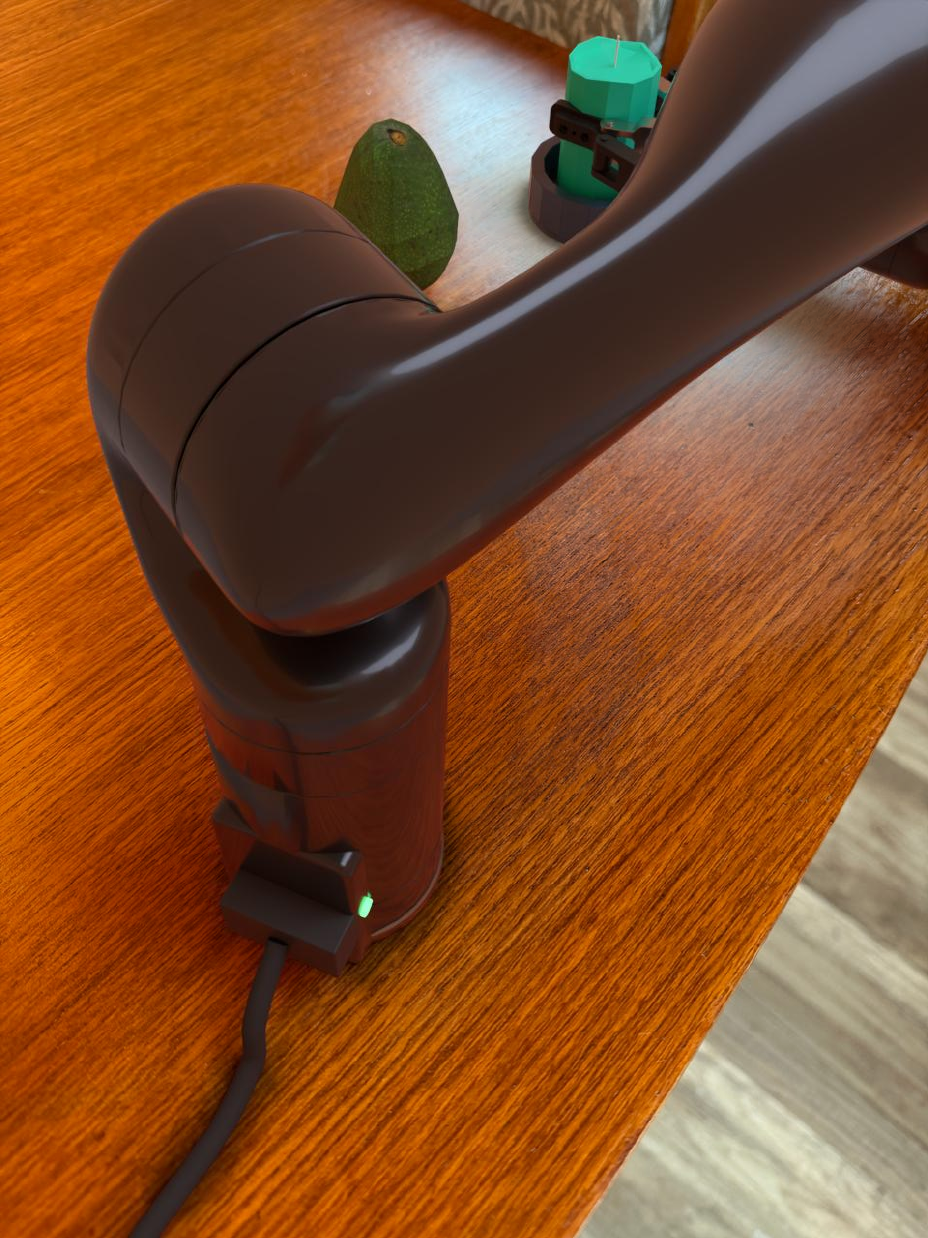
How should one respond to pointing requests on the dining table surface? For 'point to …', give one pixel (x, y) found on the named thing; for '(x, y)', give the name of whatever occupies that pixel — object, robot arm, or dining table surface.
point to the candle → (605, 102)
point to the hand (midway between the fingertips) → (574, 97)
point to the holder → (557, 197)
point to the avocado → (401, 200)
